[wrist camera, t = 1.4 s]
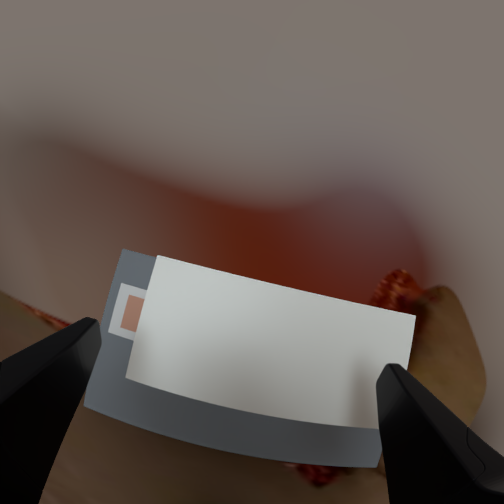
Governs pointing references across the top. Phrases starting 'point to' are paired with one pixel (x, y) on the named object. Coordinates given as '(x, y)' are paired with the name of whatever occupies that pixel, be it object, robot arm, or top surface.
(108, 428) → the top surface
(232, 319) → the block
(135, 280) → the plate
